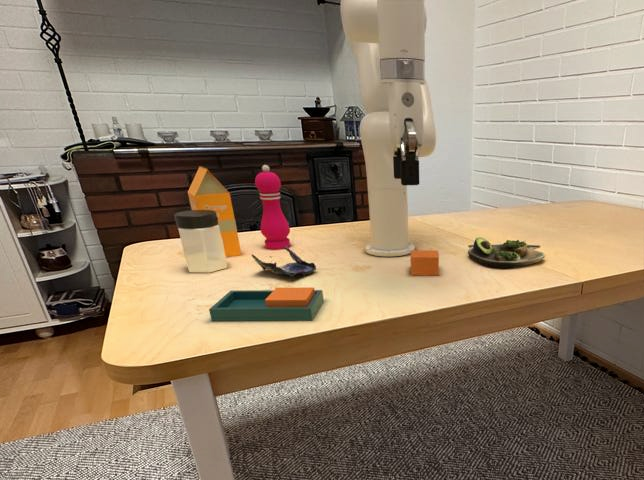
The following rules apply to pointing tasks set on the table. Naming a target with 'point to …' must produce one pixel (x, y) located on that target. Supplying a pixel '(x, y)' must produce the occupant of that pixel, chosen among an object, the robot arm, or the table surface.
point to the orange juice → (215, 207)
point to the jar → (201, 240)
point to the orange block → (424, 262)
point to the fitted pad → (290, 297)
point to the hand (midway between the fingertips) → (406, 181)
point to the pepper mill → (272, 210)
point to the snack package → (288, 265)
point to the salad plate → (504, 253)
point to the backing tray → (260, 307)
